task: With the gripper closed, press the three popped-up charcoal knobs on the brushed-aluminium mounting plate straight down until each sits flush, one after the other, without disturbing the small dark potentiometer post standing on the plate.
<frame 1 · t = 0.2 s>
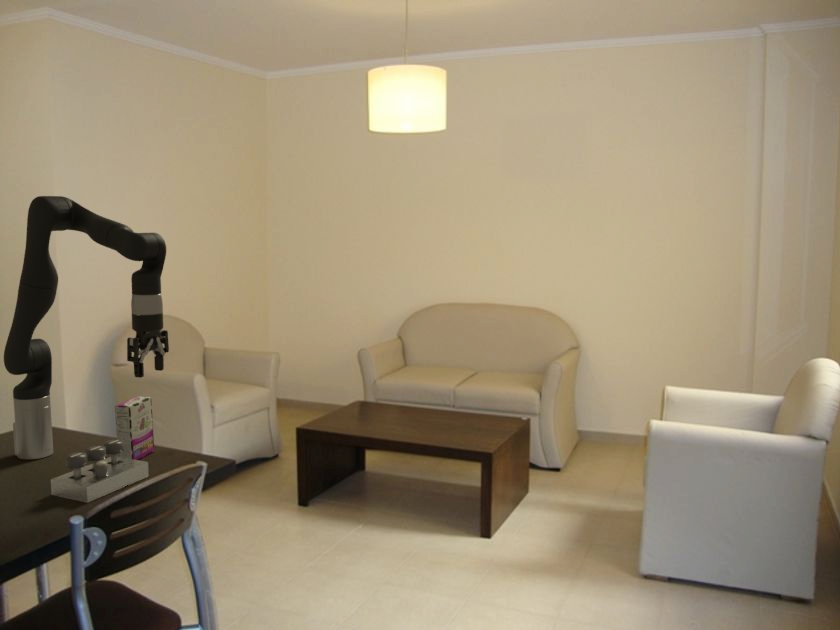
hand: (149, 373, 194), 28 cm above the table, fingers open, 8 cm apart
knob b: (96, 459, 191), point 7 cm above the table, slide at 0.0 cm
mount: (101, 485, 192), on the table
candy bar box: (136, 457, 214), on the table
pot post: (102, 476, 187), point 4 cm above the table, touching mount
knob a: (114, 453, 197), point 7 cm above the table, slide at 0.0 cm
knob c: (76, 466, 186), point 7 cm above the table, slide at 0.0 cm
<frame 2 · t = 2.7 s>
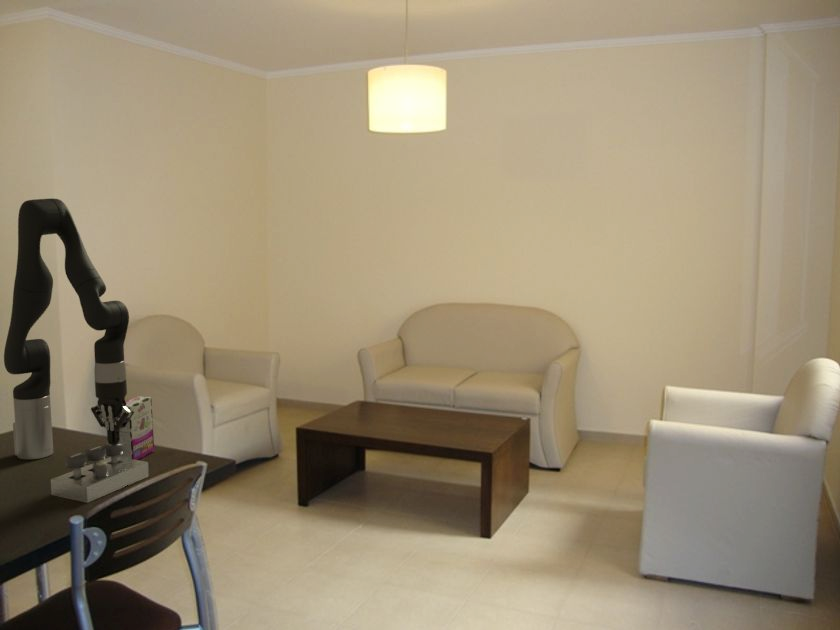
hand: (113, 443, 196), 9 cm above the table, fingers closed
knob a: (114, 454, 197), point 6 cm above the table, slide at 0.5 cm, touching gripper
everything else where it was.
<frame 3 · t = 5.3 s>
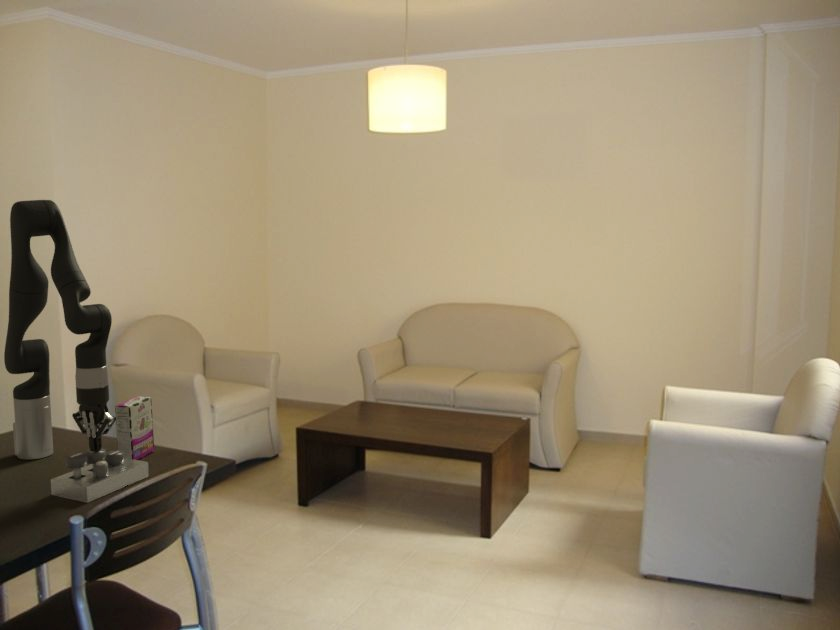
hand: (95, 450, 191), 9 cm above the table, fingers closed
knob b: (96, 462, 191), point 6 cm above the table, slide at 0.7 cm, touching gripper
knob a: (114, 464, 197), point 4 cm above the table, slide at 3.0 cm, touching mount
everything else where it was.
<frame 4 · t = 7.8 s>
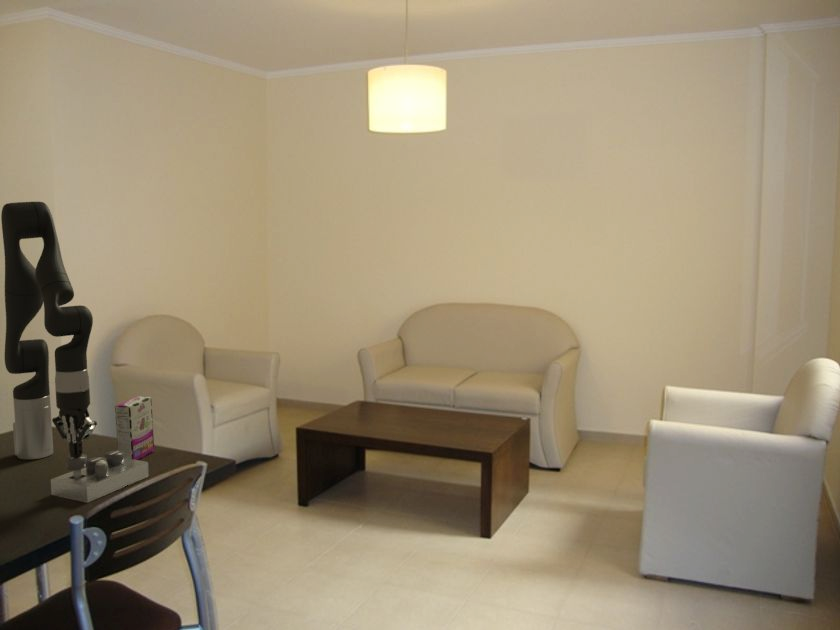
hand: (76, 456, 185), 9 cm above the table, fingers closed
knob b: (96, 471, 192), point 4 cm above the table, slide at 3.0 cm, touching mount
knob c: (76, 468, 186), point 6 cm above the table, slide at 0.4 cm, touching gripper
everything else where it was.
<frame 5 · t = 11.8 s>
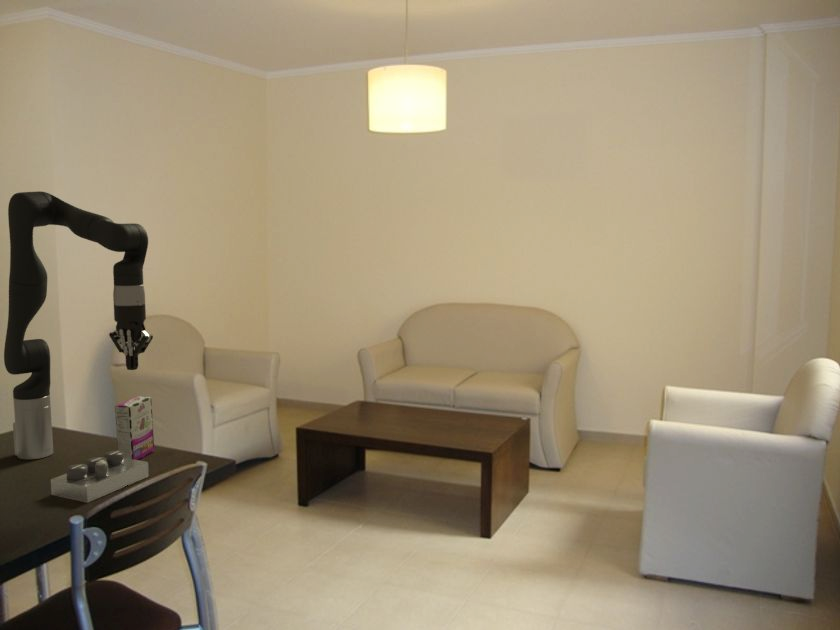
hand: (132, 369, 193), 29 cm above the table, fingers closed
knob c: (77, 478, 186), point 4 cm above the table, slide at 3.0 cm, touching mount
everything else where it was.
at the end: knob a slide at 3.0 cm; knob b slide at 3.0 cm; knob c slide at 3.0 cm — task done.
